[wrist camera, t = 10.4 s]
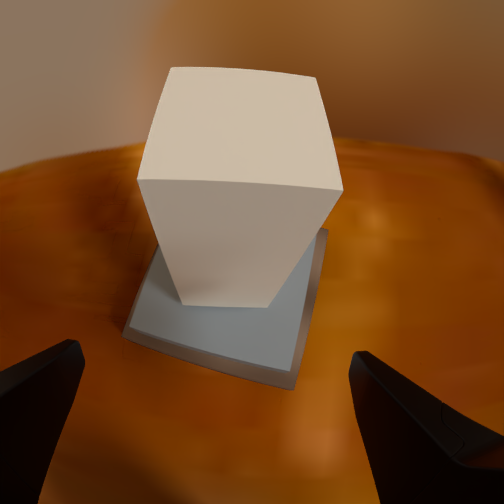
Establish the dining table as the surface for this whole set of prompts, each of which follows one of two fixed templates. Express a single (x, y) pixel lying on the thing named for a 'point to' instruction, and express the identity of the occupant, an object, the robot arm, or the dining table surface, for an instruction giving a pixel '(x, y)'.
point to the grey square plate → (237, 368)
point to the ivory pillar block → (237, 180)
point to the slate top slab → (226, 319)
